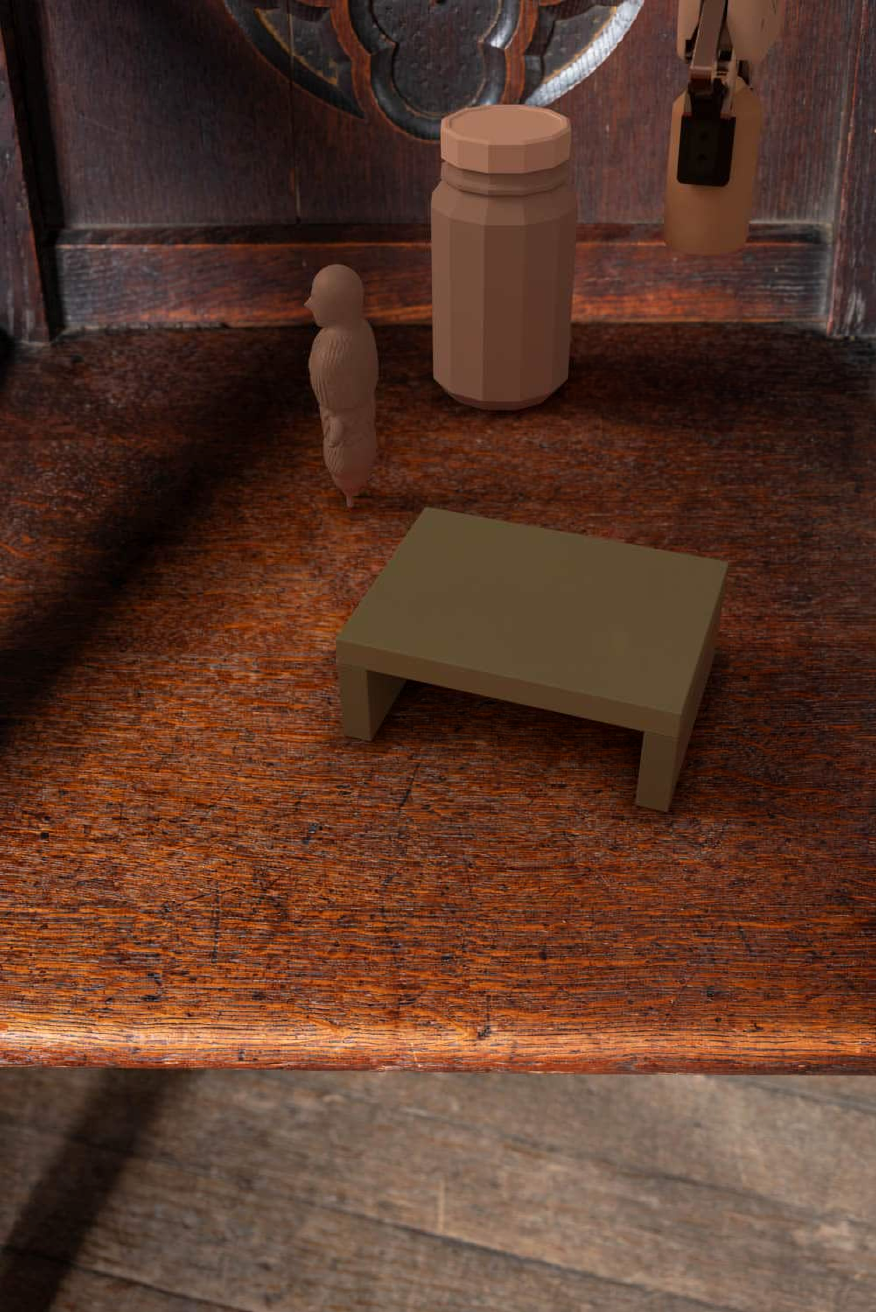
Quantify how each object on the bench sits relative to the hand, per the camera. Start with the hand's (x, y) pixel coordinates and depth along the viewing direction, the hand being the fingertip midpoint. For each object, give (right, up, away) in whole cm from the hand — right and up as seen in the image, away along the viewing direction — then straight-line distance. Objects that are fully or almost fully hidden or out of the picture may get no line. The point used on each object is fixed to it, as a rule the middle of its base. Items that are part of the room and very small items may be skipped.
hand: (712, 164), depth 80 cm
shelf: (-13, -33, -17) cm, 39 cm away
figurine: (-23, -22, -2) cm, 32 cm away
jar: (-13, -12, +10) cm, 20 cm away
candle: (0, -4, +3) cm, 5 cm away
